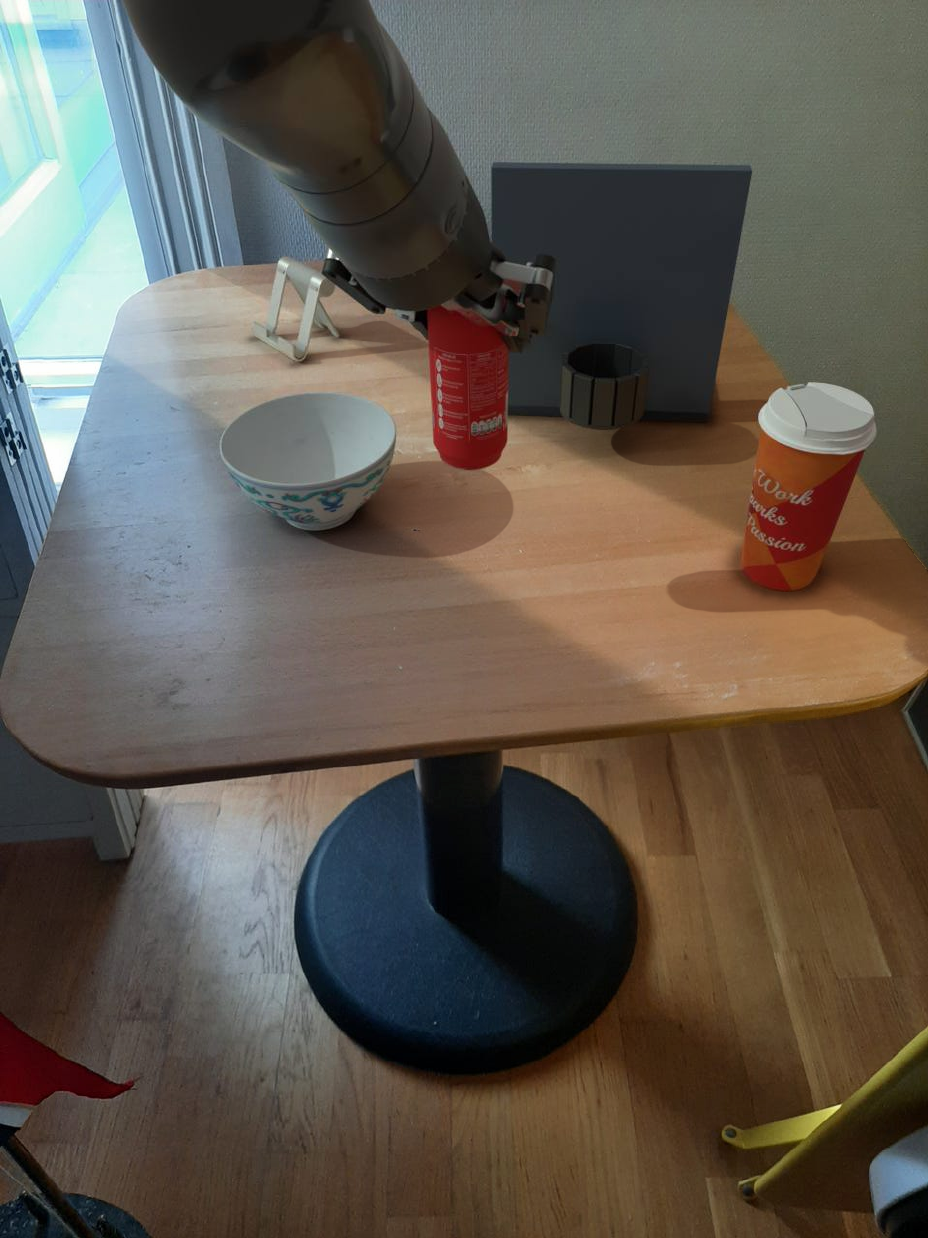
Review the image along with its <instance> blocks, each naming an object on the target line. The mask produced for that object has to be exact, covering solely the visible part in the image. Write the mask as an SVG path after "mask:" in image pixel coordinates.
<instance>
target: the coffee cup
mask: <svg viewBox="0 0 928 1238" xmlns="http://www.w3.org/2000/svg"><path fill="white" fill-rule="evenodd" d="M757 419H758V423H759V426H760V434H759V438H758V439H759V440H758V446H757V452H756V453H757V454H756V459H755V466H754V472H753V478H752V479H753V480H752V484H751V490H750V491H751V492H750V498H749V505H748V510H747V512H748V513H747V519H746V523H745V532H744V537H743V538H744V539H743V545H742V554H741V568H742V571H743V572H744V574H745V575H746V577H748V579H750V580H751V581H752V582H753V583H755V584H757V585H759V586H761V587H763V588H766V589H769V590H774V591H780V592H781V591H782V592H791V591H792V592H793V591H798V590H801V589H804V588H806V587H808V586H810V585H811V584H812V582H813V581H814V579H815V578H816V576H817V573H818V572H819V569H820V566H821V564H822V562H823V559H824V557H825V555H826V552H827V549H828V547H829V544H830V542H831V539H832V537H833V534H834V532H835V529H836V527H837V523H838V521H839V519H840V517H841V514H842V511H843V509H844V506H845V504H846V502H847V501H846V500H847V498H848V495H849V493H850V490H851V488H852V485H853V482H854V480H855V478H856V474H857V472H858V470H859V467H860V465H861V462H862V459H863V456H864V454H865V451H866V449H867V448H869V446H870V444H872V443H873V442H874V440H875V438H876V436H877V432H878V431H877V424H876V422H875V410H874V408H873V407H872V405H871V403H870V402H869V401H868V400H867V399H866V398H865V397H864V396H862V395H861V394H859V393H857V392H855V391H853V390H851V389H848V388H846V387H842V386H841V385H840V386H839V385H835V384H831V383H825V382H813V381H809V382H807V384H806V385H805V384H804V383H798V384H794V385H789V386H787V387H786V388H785V389H784V388H782V387H779V388H777V390H775V391H774V392H772V394H771V395H770V396H769V398H768V400H767V402H766V403H765V404H764V405H763V406H762V407H761V408H760V409H759V412H758V418H757Z"/></svg>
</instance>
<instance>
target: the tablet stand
mask: <svg viewBox="0 0 928 1238" xmlns="http://www.w3.org/2000/svg"><path fill="white" fill-rule="evenodd" d="M288 281H289V282H290V283H291V285H292V286H293V288H294V290H295V291H296V293H297V294H298V297H299V298H300V300H301V301H302V303H303V305H304V306H303V307H304V308H303V312H302V316H301V322H300V327H299V331H298V336H297V340H296V341H295V344H294V343H292V342H290V341H288V340H287V339H285V338H283V337H282V336H279V335H277V328H278V323H279V318H280V313H281V307H282V303H283V299H284V293H285V288H286V284H287V282H288ZM335 290H336V285H335V284H334V283H333V282H331V281H330V280H329V279H327V278H326V277H325V276H324V275H322V272H320V271H318V270H316V269H314V268H312V267H310V266H307V265H306V264H304V263H302V262H299V261H298V260H295V259H294V258H292V257H290V256H288V255H287V256H286V255H284V256H282V257H281V258H279V260H278V262H277V265H276V271H275V274H274V281H273V286H272V291H271V295H270V300H269V306H268V311H267V316H266V321H265V323H264V326H263V325H262V324H260V323H259V322H257V321H254V320H253V321H252V323H251V325H252V334H253V336H254V337H256V338H257V339H259V340H260V341H262V342H264V343H266V344H268V345H269V346H271V347H272V348H274V349H275V350H277V351H278V352H280V353H282V354H283V355H285V356H286V357H288V358H290V359H291V360H293V361H295V362H298V363H300V362H303V361H304V360H305V359H306V358H307V356H308V355H307V354H308V351H309V346H310V341H311V338H312V331H313V328H314V323H315V325H316V326H317V327H318V328H320V329H322V330H324V329H325V326H326V327H327V328H328V330H329V331H330V333H331V334H332V336H334V337H336V338H339V337H340V333H339V331H338V330H337V328H336V326H335V325H334V323H333V321H332V319H331V317H330V316H329V314H328V312H327V311H326V308H325V307H324V305H323V302H321V299H322V298H329V297H331V296H332V295H333V294H334V292H335ZM324 325H325V326H324Z"/></svg>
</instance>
